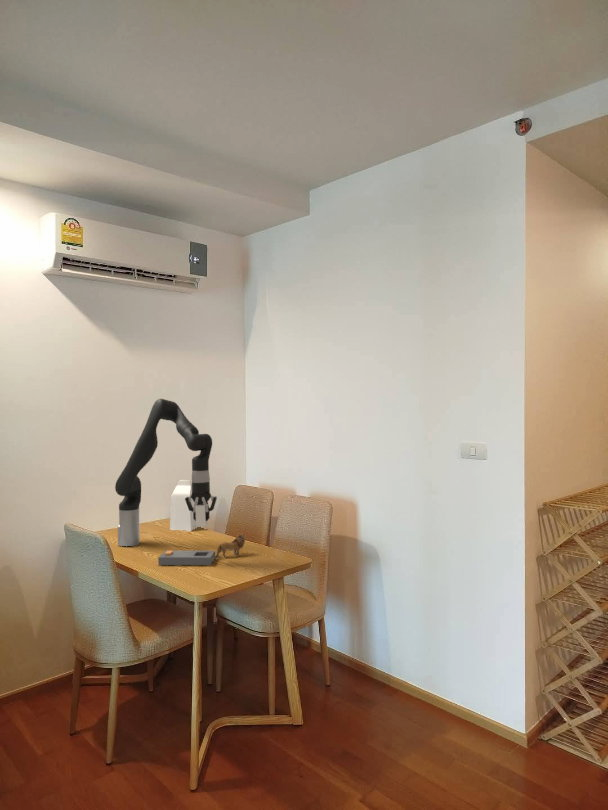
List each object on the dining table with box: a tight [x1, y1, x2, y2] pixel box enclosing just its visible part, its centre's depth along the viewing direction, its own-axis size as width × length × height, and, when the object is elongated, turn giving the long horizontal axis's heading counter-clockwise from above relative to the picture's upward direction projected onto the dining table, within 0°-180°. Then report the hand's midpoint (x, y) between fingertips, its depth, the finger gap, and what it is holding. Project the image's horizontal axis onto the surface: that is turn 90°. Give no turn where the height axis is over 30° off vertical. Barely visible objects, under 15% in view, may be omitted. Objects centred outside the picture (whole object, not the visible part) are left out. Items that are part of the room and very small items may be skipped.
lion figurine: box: [215, 534, 246, 559], centre depth 238 cm, size 15×5×9 cm, turn 125°
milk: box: [169, 479, 197, 532], centre depth 290 cm, size 12×12×26 cm
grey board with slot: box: [157, 550, 216, 567], centre depth 230 cm, size 22×10×4 cm, turn 88°
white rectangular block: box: [196, 504, 208, 528], centre depth 230 cm, size 4×4×9 cm
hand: (201, 520), depth 230 cm, fingers closed on white rectangular block, 4 cm apart
